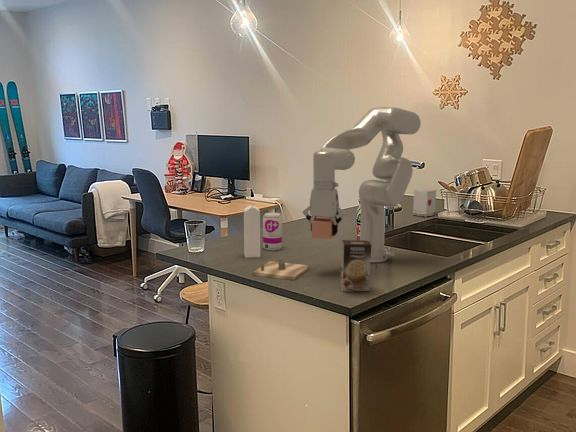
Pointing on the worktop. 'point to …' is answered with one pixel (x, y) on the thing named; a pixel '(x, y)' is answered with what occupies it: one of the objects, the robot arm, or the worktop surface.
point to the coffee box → (355, 265)
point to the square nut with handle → (322, 228)
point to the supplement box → (424, 201)
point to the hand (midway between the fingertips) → (324, 233)
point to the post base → (281, 270)
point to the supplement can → (272, 231)
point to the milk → (251, 231)
